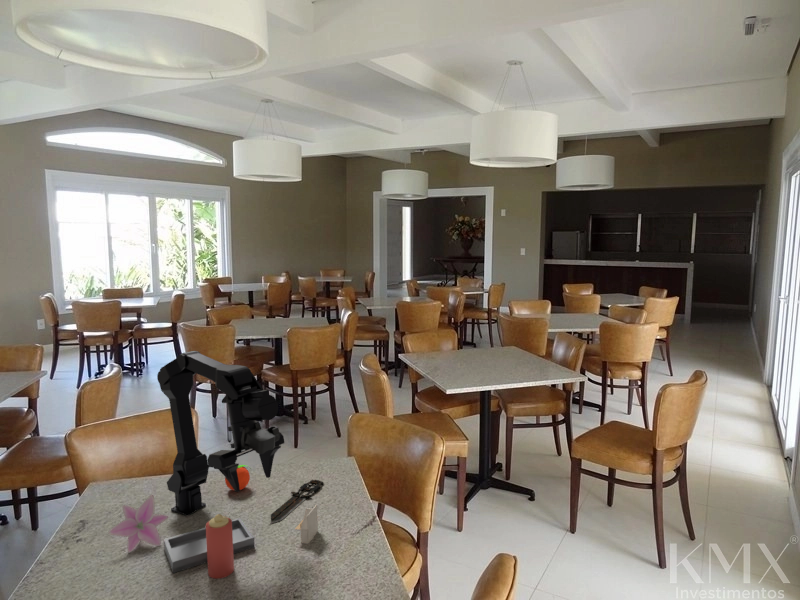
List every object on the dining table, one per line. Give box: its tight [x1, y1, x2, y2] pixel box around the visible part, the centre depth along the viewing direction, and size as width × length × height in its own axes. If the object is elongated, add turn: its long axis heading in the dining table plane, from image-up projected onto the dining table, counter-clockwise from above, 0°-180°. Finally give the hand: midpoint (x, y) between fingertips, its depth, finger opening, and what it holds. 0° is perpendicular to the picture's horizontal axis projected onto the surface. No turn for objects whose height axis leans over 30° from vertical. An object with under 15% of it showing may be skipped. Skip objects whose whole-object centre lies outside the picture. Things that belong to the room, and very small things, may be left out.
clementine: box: [224, 464, 252, 492], centre depth 158 cm, size 8×7×7 cm
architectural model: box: [294, 504, 319, 545], centre depth 133 cm, size 3×7×7 cm, turn 166°
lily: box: [107, 494, 170, 554], centre depth 131 cm, size 12×12×10 cm
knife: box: [269, 479, 325, 525], centre depth 150 cm, size 25×6×1 cm, turn 154°
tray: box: [163, 517, 255, 574], centre depth 128 cm, size 11×18×2 cm, turn 123°
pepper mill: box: [205, 513, 235, 579], centre depth 118 cm, size 5×5×13 cm
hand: (253, 484), depth 130 cm, fingers open, 9 cm apart
